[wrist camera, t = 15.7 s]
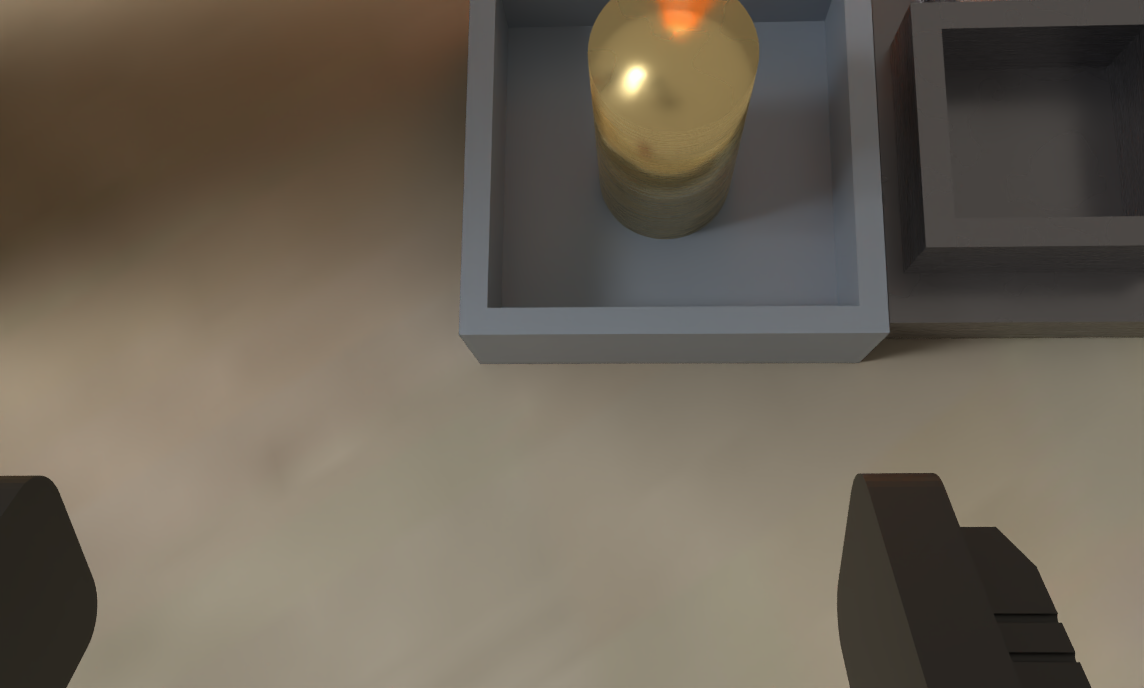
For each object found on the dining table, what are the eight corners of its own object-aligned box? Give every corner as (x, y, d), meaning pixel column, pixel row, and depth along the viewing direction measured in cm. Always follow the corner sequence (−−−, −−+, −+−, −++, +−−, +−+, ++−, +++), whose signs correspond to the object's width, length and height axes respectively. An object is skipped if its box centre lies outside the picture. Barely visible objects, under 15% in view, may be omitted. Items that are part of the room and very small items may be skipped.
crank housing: (874, 338, 32) (929, 283, 26) (853, -76, 35) (897, -211, 29) (1147, 337, 32) (1267, 280, 26) (1101, -82, 35) (1199, -221, 29)
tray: (480, 363, 33) (458, 334, 29) (489, 22, 35) (471, -47, 31) (859, 362, 32) (889, 332, 28) (842, 15, 35) (867, -57, 31)
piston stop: (599, 240, 32) (587, 133, 25) (599, 117, 33) (587, -24, 26) (732, 238, 32) (762, 129, 24) (728, 115, 33) (756, -29, 25)
